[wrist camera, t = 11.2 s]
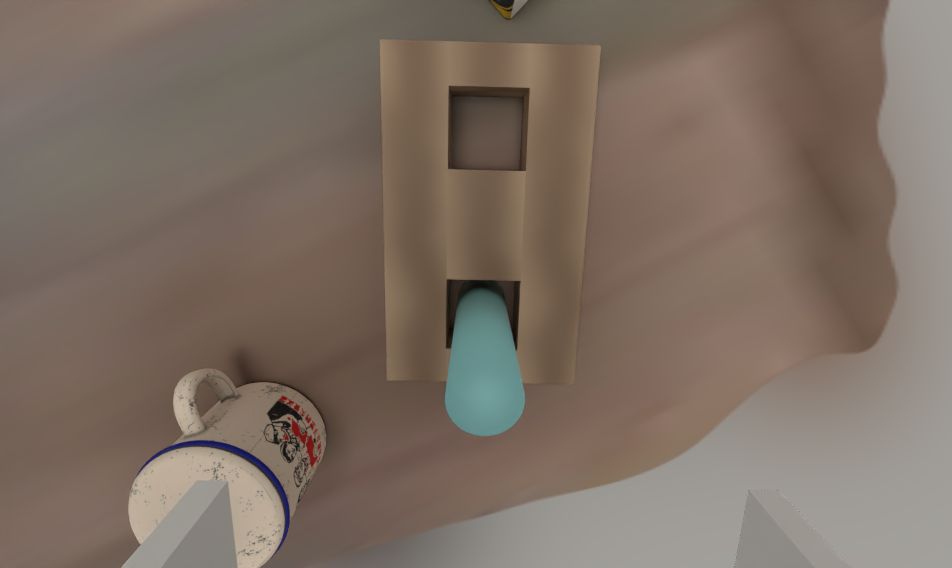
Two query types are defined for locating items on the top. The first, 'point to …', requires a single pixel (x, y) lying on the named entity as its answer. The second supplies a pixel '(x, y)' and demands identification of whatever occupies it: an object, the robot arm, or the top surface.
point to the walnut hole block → (485, 199)
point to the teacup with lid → (236, 460)
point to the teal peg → (483, 363)
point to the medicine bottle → (508, 6)
